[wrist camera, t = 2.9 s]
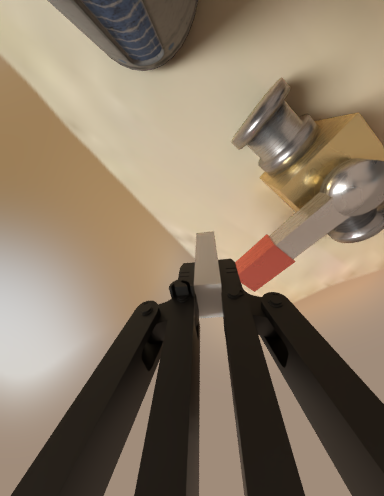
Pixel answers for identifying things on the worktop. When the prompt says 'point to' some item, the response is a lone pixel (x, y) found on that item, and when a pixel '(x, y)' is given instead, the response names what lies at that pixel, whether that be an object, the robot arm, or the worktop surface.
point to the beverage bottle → (133, 28)
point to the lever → (315, 219)
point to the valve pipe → (309, 155)
